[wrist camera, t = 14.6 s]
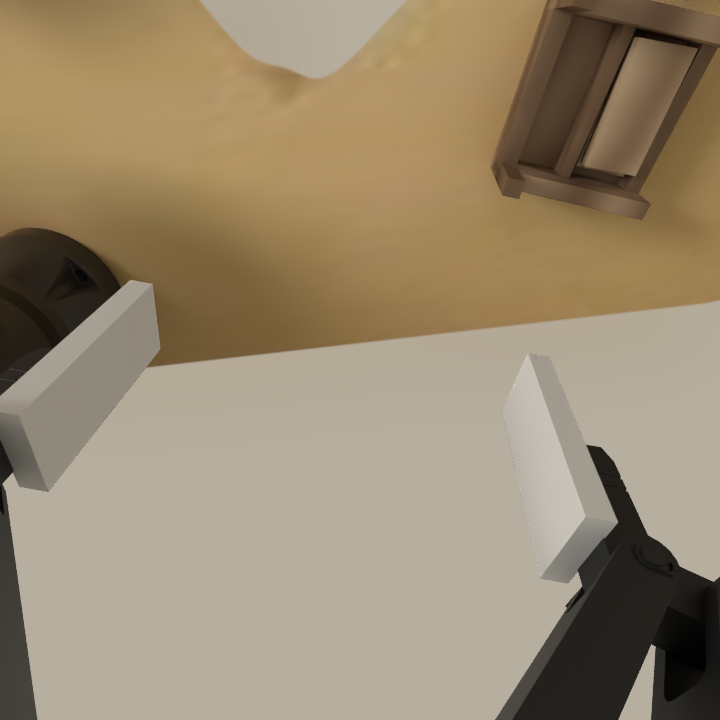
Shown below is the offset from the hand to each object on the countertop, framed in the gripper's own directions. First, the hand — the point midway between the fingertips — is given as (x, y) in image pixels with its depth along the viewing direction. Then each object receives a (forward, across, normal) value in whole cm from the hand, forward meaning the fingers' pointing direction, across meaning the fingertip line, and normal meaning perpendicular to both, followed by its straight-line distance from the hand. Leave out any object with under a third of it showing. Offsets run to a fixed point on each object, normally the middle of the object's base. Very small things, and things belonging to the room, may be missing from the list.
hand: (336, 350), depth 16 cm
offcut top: (+26, +17, +7) cm, 32 cm away
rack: (+29, +15, +7) cm, 33 cm away
